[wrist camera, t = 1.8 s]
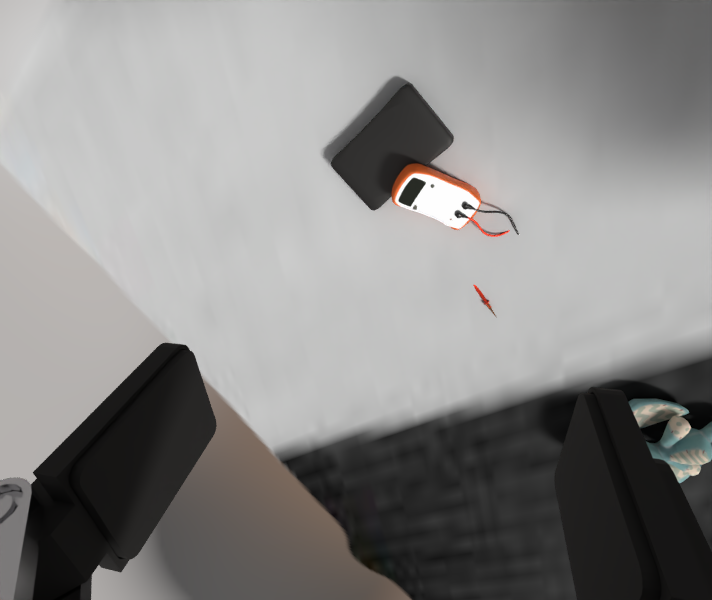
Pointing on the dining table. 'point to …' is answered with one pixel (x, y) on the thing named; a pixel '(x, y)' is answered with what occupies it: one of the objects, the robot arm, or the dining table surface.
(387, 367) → the dining table surface
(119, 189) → the dining table surface
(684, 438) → the stuffed animal
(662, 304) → the dining table surface
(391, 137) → the multimeter
